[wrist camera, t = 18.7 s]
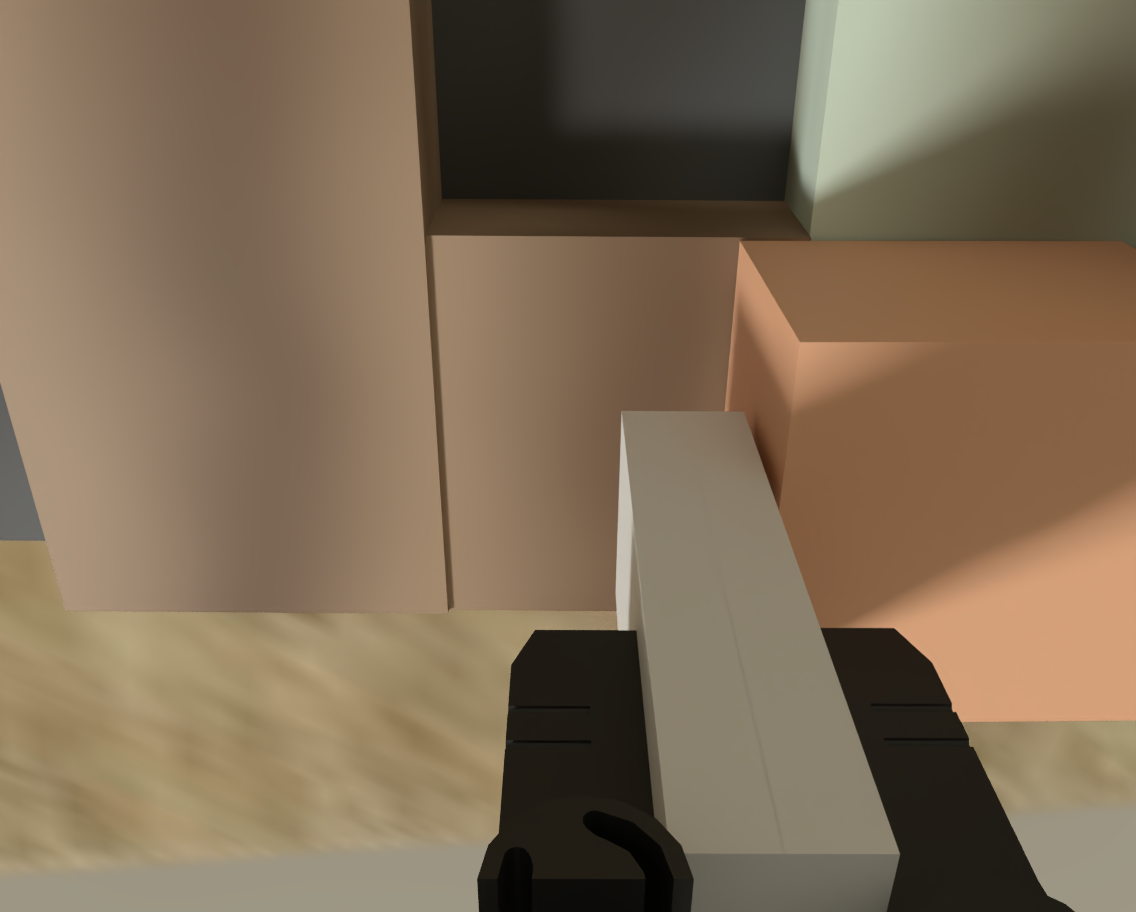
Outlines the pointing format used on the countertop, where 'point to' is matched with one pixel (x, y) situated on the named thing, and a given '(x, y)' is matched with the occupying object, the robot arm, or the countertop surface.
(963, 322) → the block
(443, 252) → the board
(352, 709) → the countertop surface
